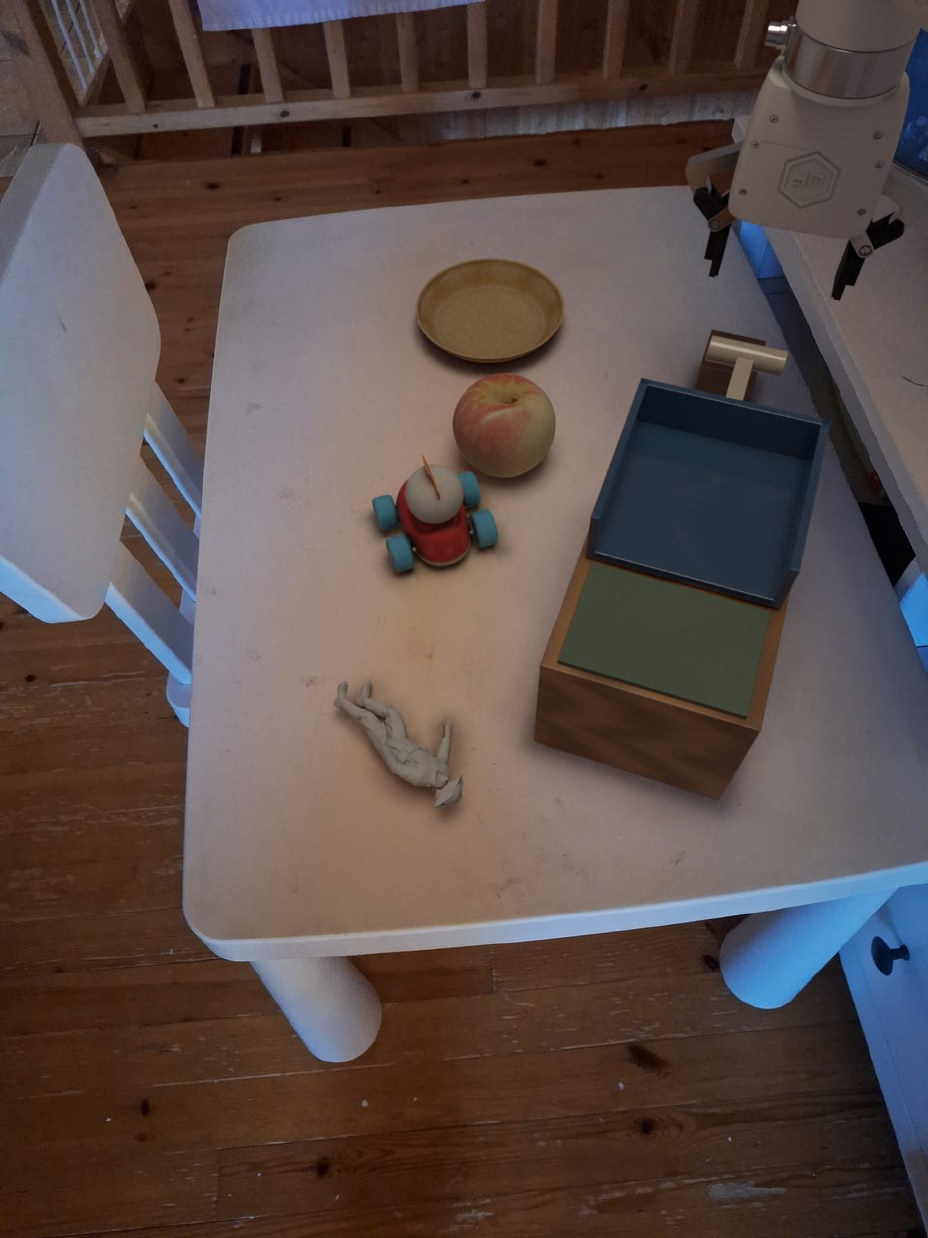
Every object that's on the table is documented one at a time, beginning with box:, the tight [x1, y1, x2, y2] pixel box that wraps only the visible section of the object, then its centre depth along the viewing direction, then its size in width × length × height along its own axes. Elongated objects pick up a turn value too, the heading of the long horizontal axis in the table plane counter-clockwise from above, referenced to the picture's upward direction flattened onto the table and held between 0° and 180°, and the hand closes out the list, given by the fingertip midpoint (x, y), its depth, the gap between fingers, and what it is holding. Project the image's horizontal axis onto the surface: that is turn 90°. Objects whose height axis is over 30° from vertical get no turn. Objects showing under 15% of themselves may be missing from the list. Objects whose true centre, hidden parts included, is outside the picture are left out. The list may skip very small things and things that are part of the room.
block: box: [693, 329, 767, 402], centre depth 84 cm, size 5×5×5 cm
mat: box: [557, 563, 770, 719], centre depth 58 cm, size 12×8×1 cm, turn 70°
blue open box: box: [585, 335, 832, 609], centre depth 63 cm, size 13×19×5 cm
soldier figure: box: [333, 679, 465, 810], centre depth 66 cm, size 8×5×12 cm
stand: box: [533, 530, 791, 801], centre depth 67 cm, size 14×23×12 cm, turn 160°
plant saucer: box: [415, 257, 565, 364], centre depth 90 cm, size 15×15×3 cm
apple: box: [452, 372, 557, 479], centre depth 79 cm, size 9×9×8 cm
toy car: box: [371, 454, 499, 573], centre depth 74 cm, size 9×9×10 cm
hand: (775, 277), depth 72 cm, fingers open, 9 cm apart
